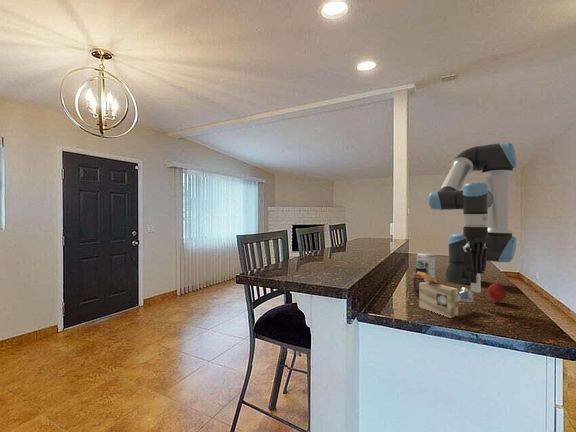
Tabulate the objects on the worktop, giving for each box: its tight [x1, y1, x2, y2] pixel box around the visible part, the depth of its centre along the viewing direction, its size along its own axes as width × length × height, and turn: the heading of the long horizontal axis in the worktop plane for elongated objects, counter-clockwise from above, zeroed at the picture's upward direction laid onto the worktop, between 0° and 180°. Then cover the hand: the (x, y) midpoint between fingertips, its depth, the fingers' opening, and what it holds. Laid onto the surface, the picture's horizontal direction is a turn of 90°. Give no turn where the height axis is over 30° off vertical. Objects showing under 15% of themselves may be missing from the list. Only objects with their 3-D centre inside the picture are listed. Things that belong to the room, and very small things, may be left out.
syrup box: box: [416, 252, 436, 279], centre depth 141 cm, size 6×6×14 cm
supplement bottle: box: [412, 266, 429, 297], centre depth 125 cm, size 6×6×11 cm
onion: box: [486, 281, 507, 304], centre depth 113 cm, size 6×6×8 cm
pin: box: [438, 287, 475, 305], centre depth 104 cm, size 13×5×5 cm, turn 116°
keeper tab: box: [417, 271, 440, 284], centre depth 107 cm, size 8×4×1 cm, turn 116°
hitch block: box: [418, 281, 459, 319], centre depth 105 cm, size 4×12×9 cm, turn 26°
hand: (475, 291), depth 109 cm, fingers closed
